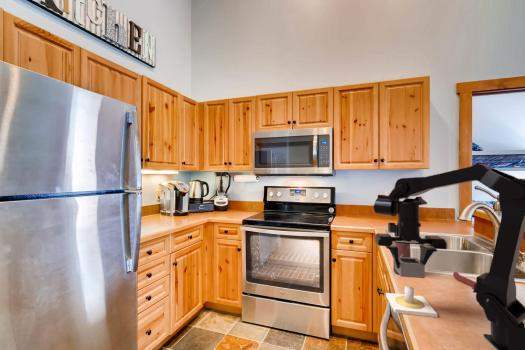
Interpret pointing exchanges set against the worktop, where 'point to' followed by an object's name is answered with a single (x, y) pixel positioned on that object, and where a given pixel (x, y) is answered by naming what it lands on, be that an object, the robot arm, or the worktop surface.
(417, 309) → the post base
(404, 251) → the can
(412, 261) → the grey hollow square box
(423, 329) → the worktop surface
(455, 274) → the pliers
